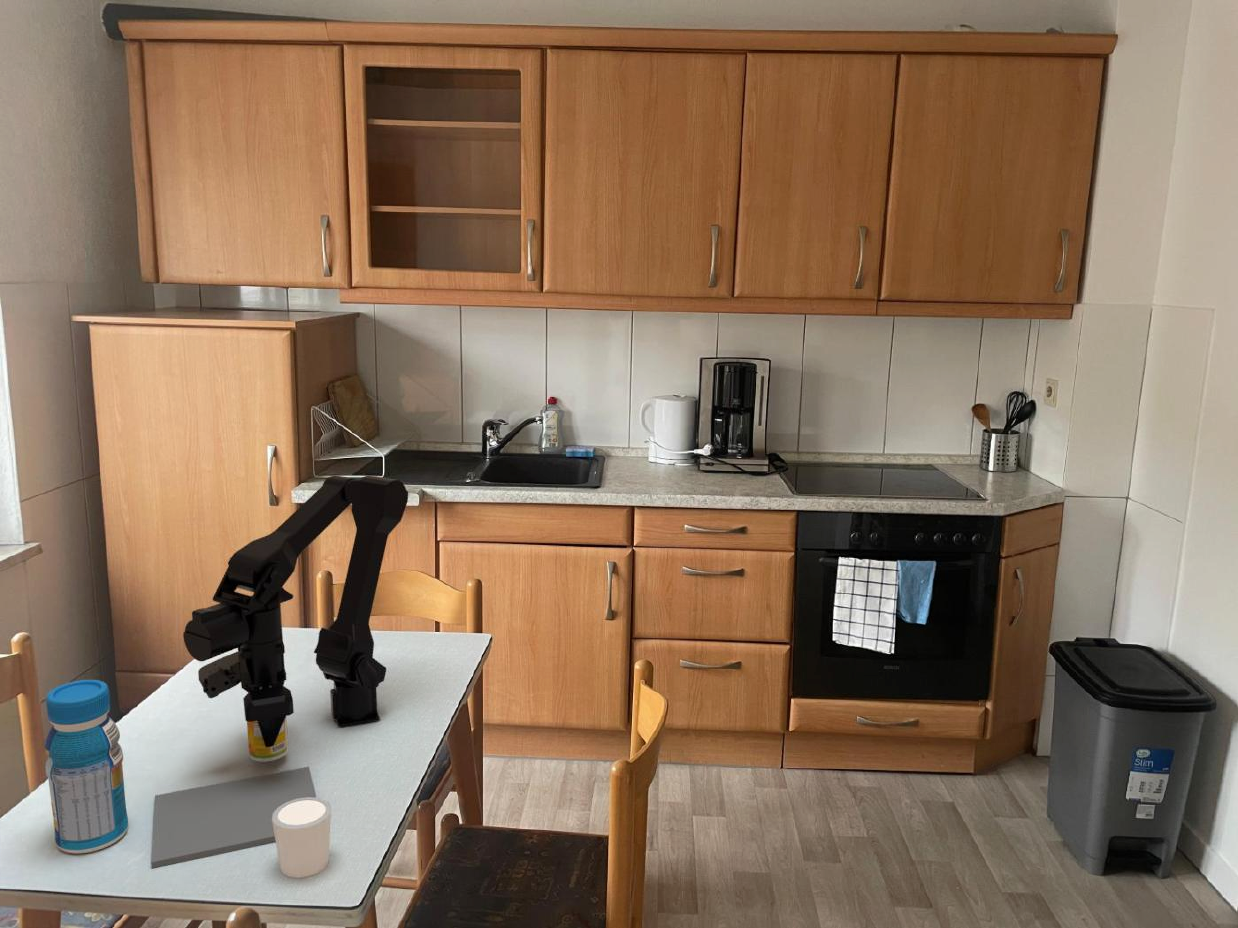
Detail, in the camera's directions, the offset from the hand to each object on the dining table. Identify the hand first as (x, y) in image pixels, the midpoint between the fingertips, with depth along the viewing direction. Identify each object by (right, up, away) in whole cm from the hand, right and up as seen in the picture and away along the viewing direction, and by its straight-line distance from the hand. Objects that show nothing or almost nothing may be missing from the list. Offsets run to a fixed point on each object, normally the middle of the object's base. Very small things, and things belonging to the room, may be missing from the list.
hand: (267, 737), depth 139 cm
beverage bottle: (-16, -8, -18) cm, 25 cm away
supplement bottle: (0, -3, +1) cm, 3 cm away
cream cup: (+13, -9, -22) cm, 27 cm away
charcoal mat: (+1, -7, -13) cm, 14 cm away
